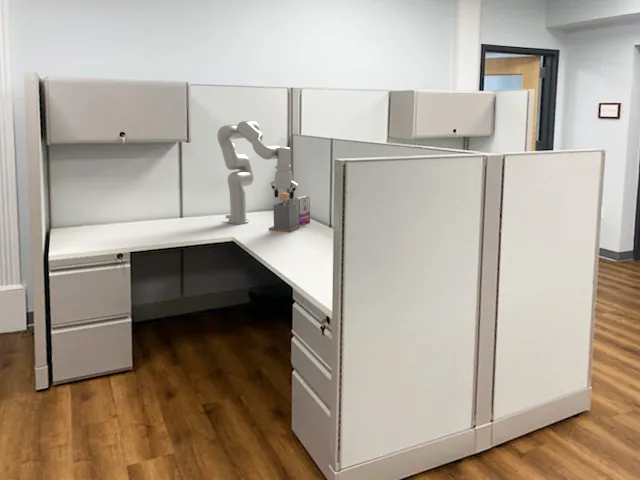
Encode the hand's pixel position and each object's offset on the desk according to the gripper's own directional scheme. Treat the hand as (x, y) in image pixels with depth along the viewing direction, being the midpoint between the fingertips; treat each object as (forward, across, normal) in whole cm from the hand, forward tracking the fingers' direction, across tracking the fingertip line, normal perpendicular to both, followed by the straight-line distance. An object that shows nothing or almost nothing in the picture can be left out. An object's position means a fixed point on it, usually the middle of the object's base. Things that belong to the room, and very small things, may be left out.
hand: (284, 197), depth 350 cm
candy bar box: (+19, +3, +20) cm, 27 cm away
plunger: (+17, +1, 0) cm, 17 cm away
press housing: (+19, +1, 0) cm, 19 cm away
